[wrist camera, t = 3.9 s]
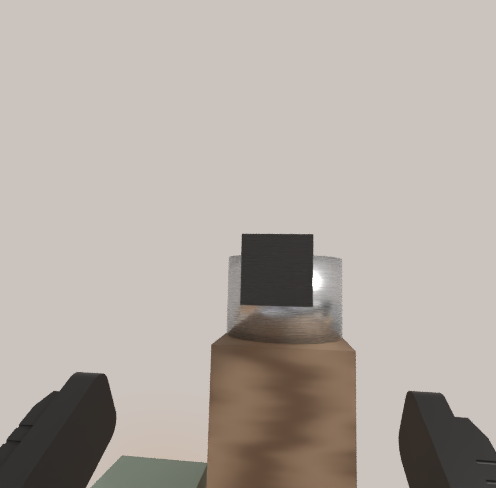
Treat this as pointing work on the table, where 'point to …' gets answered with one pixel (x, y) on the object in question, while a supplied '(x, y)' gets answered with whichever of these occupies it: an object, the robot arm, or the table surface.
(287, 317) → the steel pot
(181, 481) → the block
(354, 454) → the tall walnut stand
